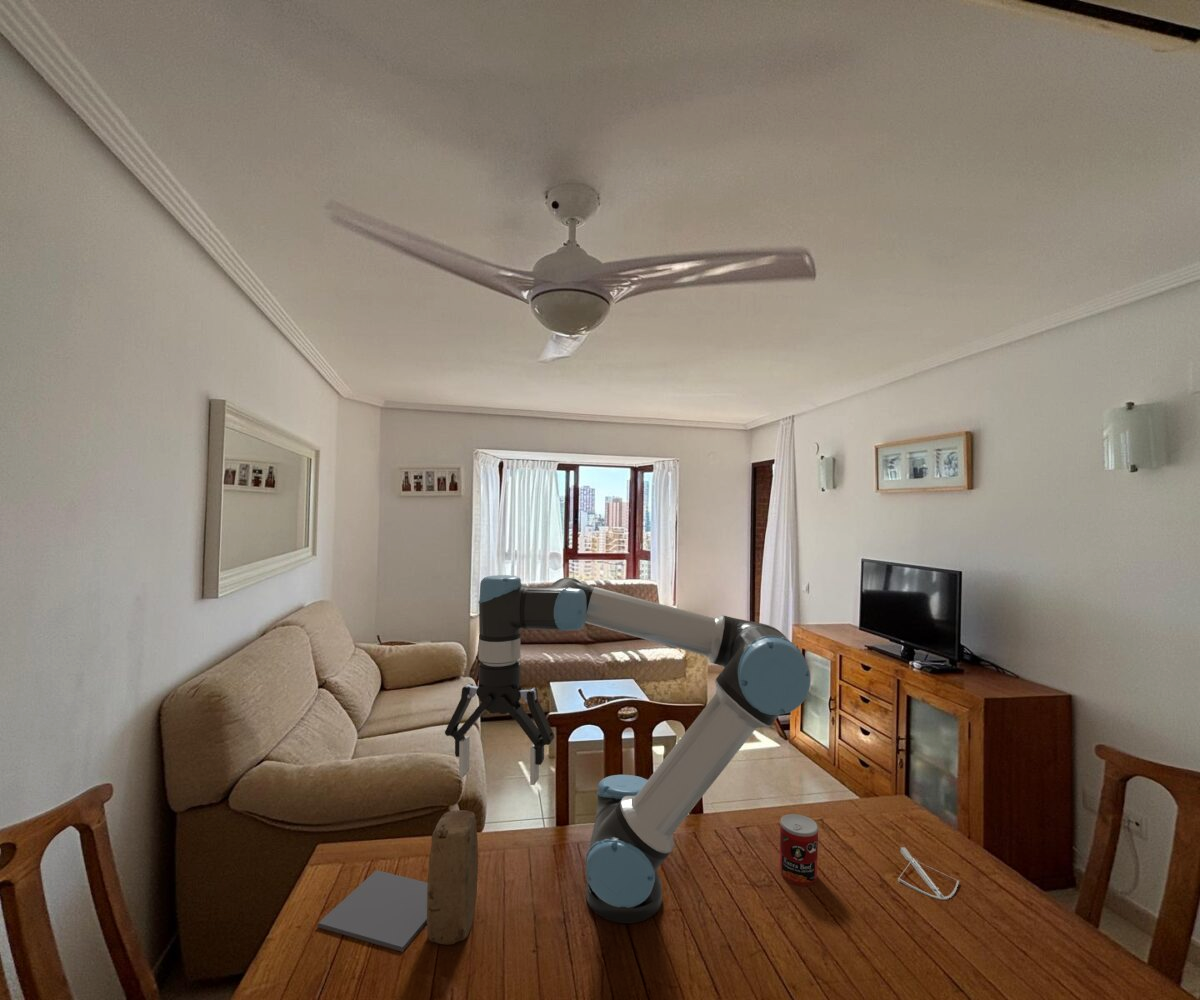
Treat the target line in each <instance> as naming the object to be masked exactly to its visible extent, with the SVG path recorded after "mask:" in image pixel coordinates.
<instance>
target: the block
mask: <svg viewBox="0 0 1200 1000" xmlns="http://www.w3.org/2000/svg"><path fill="white" fill-rule="evenodd" d="M476 819H477V818H476V815H475V813H474V812H472V811H469V810H466V809H465V810H462V809H459V810H458V809H457V810H449V811H447V812H445V813H443V815H442V816H441V817H440V819H439V820H438V822H437V823H436V826H435V829H434V830H433V832H432V834H431V846H430V852H429V856H428V873H427V883H428V889H427V923H426V933H427V938H428V939H429V941H430V942H433V943H437V944H439V945H449V946H450V945H454V944H455V943H458V942H460V941H464V940H465V939H466V938H467V937H468V936H469V935H470V931H471V928H472V926H473V922H474V917H475V916H474V915H475V910H476V909H475V908H476V904H477V903H476V902H477V891H478V876H479V875H478V874H479V871H478V869H479V868H478V867H479V844H478V843H479V841H478V832H477V820H476Z"/></svg>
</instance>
